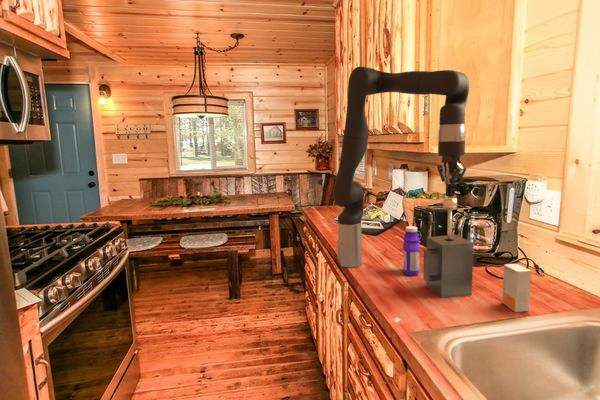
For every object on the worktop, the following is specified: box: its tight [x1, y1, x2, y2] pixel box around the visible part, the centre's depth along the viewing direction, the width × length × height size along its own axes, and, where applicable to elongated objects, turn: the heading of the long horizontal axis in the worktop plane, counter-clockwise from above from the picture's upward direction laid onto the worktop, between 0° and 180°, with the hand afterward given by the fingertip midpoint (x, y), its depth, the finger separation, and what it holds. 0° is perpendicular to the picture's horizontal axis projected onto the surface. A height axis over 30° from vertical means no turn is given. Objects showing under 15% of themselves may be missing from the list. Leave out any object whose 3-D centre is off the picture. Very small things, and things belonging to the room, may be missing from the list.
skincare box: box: [501, 263, 532, 313], centre depth 102 cm, size 6×4×12 cm
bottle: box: [402, 225, 420, 277], centre depth 131 cm, size 7×6×17 cm
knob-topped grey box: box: [422, 234, 474, 299], centre depth 115 cm, size 13×10×17 cm
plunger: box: [442, 197, 458, 241], centre depth 113 cm, size 8×8×19 cm
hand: (450, 196), depth 112 cm, fingers closed
